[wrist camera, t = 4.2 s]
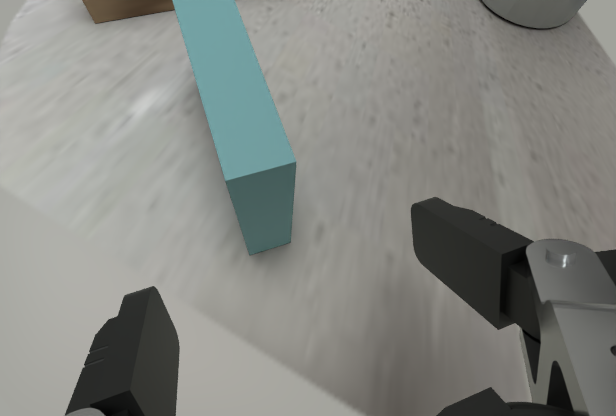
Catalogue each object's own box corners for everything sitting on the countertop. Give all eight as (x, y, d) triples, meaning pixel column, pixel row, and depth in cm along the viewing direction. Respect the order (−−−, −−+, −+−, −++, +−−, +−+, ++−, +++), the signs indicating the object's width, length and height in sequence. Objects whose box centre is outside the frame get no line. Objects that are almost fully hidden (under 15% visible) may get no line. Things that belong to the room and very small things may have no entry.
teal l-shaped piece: (290, 242, 21) (296, 161, 12) (249, 255, 20) (225, 181, 12) (232, 73, 26) (206, -74, 17) (197, 80, 25) (152, -66, 16)
